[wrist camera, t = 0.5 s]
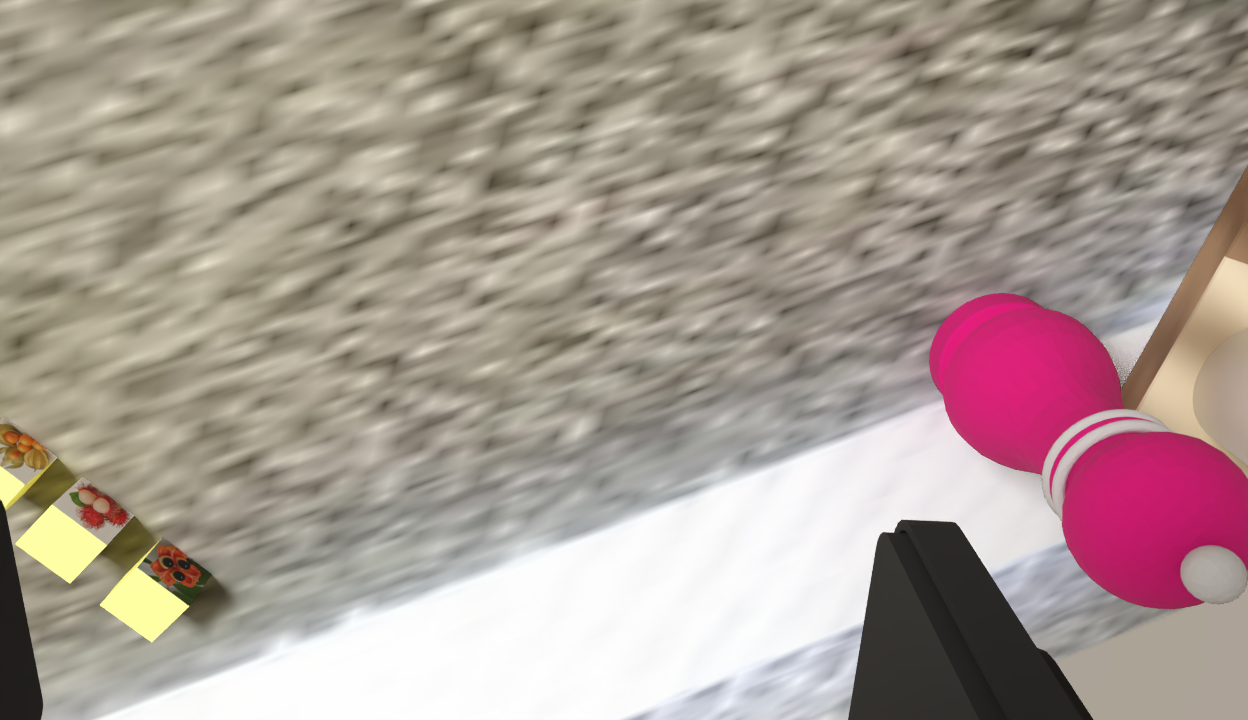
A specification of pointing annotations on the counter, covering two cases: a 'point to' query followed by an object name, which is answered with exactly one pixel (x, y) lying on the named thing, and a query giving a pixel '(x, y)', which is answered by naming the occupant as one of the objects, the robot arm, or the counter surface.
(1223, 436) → the salt mill
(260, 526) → the counter surface
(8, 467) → the stock cubes
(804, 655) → the counter surface
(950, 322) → the pepper mill
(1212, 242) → the wooden divided tray
